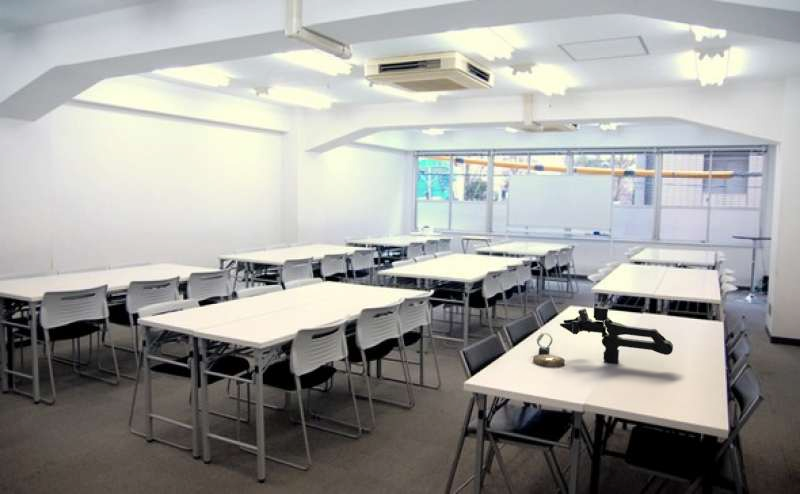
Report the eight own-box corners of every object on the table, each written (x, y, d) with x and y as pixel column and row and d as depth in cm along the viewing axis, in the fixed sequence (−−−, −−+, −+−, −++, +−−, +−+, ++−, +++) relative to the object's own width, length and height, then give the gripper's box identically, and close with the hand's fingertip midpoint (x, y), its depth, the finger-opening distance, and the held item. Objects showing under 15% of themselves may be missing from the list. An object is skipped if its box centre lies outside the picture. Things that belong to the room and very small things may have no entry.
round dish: (567, 361, 285) (567, 356, 285) (561, 369, 272) (561, 364, 272) (537, 356, 292) (537, 352, 292) (529, 364, 279) (530, 359, 278)
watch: (537, 351, 302) (538, 331, 301) (552, 353, 299) (553, 333, 298) (534, 353, 297) (535, 333, 296) (550, 356, 294) (551, 335, 293)
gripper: (596, 307, 297) (566, 304, 304) (590, 313, 280) (558, 310, 287) (595, 328, 298) (565, 325, 305) (589, 336, 281) (557, 332, 288)
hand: (561, 322), depth 296 cm, fingers open, 9 cm apart
